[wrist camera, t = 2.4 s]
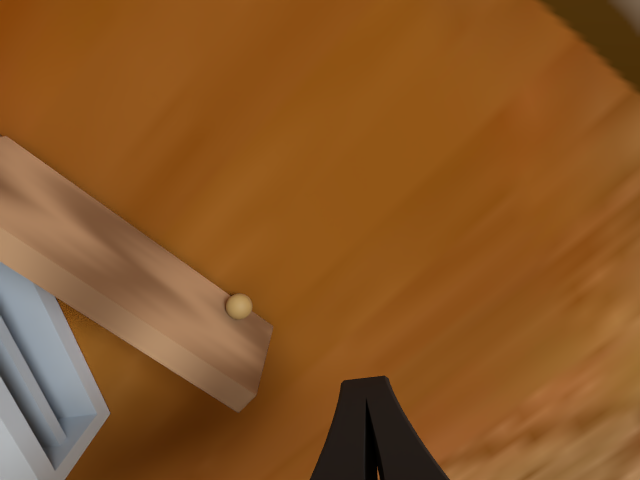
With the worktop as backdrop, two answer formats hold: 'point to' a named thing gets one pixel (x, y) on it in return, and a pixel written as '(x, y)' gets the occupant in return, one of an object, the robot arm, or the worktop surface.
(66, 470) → the cabinet
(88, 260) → the door
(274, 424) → the worktop surface
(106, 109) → the worktop surface
